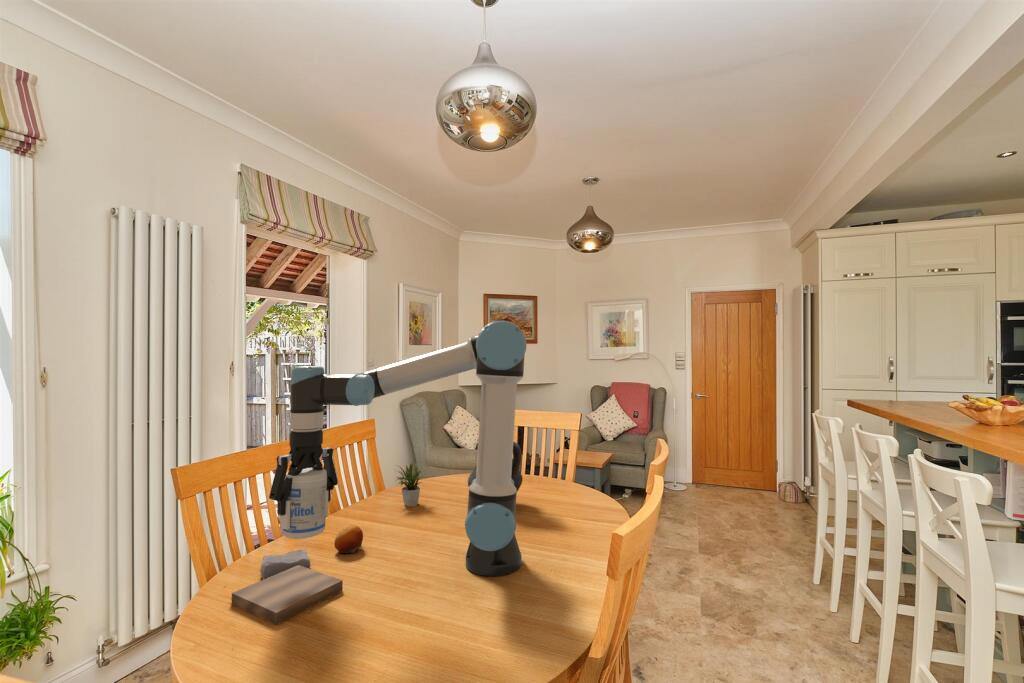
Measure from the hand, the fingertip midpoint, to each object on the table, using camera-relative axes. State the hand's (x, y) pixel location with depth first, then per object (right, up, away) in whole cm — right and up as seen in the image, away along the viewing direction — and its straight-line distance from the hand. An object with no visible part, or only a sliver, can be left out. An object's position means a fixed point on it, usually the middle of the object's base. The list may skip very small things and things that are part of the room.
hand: (304, 521), depth 116 cm
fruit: (+3, -17, +24) cm, 29 cm away
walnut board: (-2, -16, -4) cm, 17 cm away
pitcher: (+45, -18, +62) cm, 79 cm away
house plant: (+11, -19, +68) cm, 71 cm away
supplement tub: (0, -3, 0) cm, 3 cm away
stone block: (-11, -17, +12) cm, 24 cm away
